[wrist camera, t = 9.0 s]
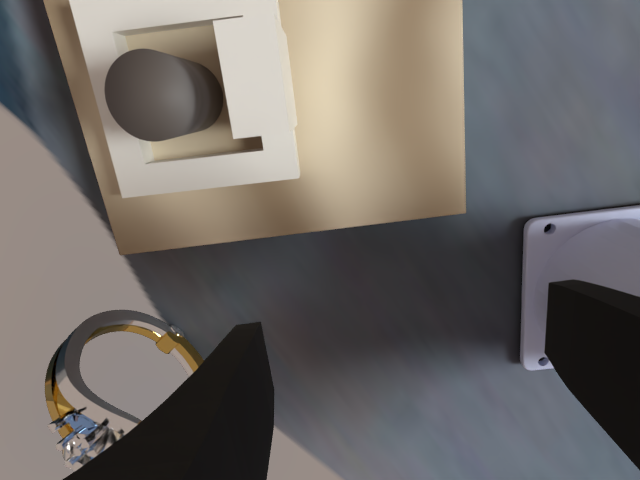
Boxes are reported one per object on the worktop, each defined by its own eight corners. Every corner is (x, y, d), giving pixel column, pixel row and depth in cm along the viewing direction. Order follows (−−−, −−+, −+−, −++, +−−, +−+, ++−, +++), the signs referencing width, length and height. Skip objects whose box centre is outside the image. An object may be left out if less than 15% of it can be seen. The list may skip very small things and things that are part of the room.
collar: (280, -23, 15) (261, -80, 10) (305, 173, 17) (298, 202, 12) (84, 3, 15) (-25, -40, 10) (133, 192, 17) (62, 228, 13)
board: (443, -260, 14) (515, -475, 9) (455, 204, 19) (505, 244, 14) (11, -185, 15) (-161, -344, 9) (134, 244, 20) (66, 296, 14)
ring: (99, 308, 21) (-29, 428, 13) (139, 267, 20) (29, 369, 12) (204, 392, 22) (145, 543, 15) (245, 357, 22) (205, 496, 14)
